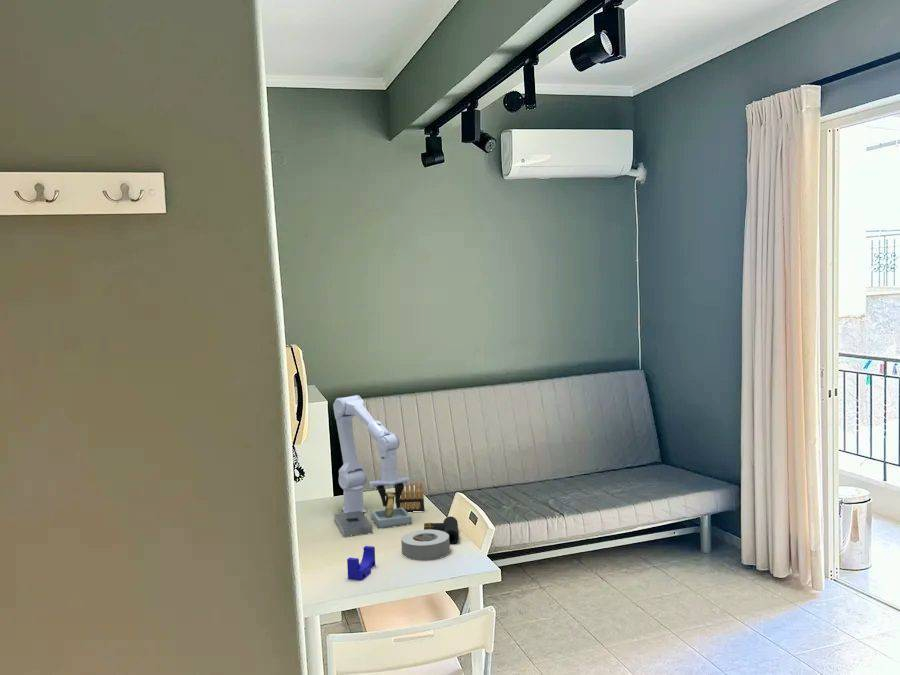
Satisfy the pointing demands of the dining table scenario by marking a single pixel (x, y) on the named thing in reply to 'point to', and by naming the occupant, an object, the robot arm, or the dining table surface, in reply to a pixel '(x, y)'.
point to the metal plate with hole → (353, 523)
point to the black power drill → (446, 528)
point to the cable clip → (361, 564)
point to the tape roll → (425, 544)
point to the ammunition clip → (412, 498)
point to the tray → (398, 518)
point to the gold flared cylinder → (389, 504)
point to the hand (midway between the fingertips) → (390, 505)
